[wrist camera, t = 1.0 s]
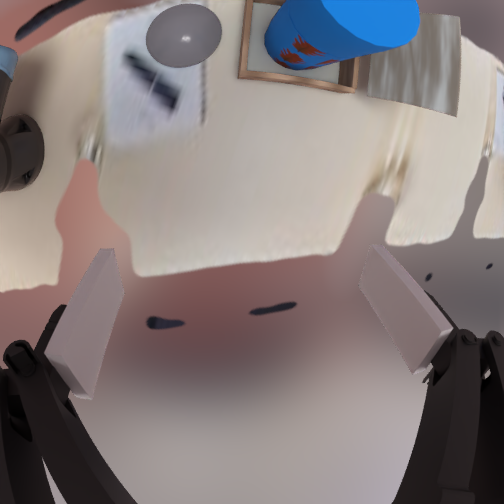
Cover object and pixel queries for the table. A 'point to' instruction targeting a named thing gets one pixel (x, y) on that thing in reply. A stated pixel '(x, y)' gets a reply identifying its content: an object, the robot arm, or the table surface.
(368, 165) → the table surface
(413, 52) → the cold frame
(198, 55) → the disc
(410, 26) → the thermos
